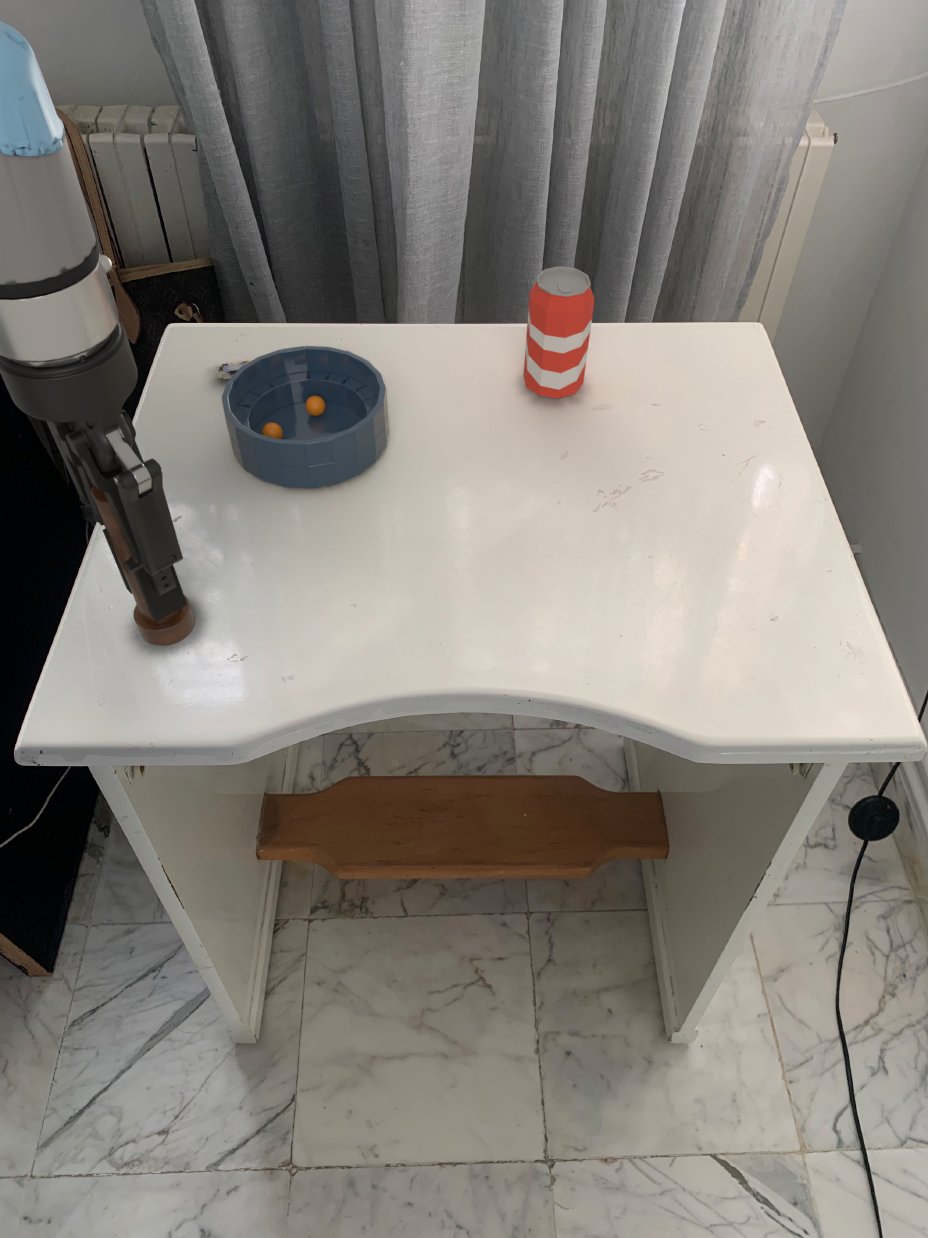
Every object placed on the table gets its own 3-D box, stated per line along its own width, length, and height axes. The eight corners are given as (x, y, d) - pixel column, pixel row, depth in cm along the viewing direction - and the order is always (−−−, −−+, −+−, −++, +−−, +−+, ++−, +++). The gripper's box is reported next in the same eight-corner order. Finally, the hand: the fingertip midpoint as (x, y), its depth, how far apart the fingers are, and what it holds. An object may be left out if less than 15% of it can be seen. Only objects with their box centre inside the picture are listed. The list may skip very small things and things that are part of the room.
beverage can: (528, 404, 93) (537, 299, 83) (520, 369, 97) (527, 264, 87) (586, 402, 93) (601, 296, 84) (575, 366, 97) (588, 261, 88)
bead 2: (305, 419, 89) (302, 403, 88) (308, 407, 91) (305, 391, 89) (324, 420, 89) (322, 404, 88) (327, 408, 91) (325, 391, 89)
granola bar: (279, 362, 97) (277, 354, 96) (281, 374, 95) (280, 366, 94) (216, 370, 96) (214, 361, 95) (217, 382, 94) (215, 374, 93)
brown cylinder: (133, 644, 72) (72, 507, 60) (148, 603, 74) (93, 464, 63) (187, 647, 72) (137, 510, 60) (200, 605, 74) (155, 467, 63)
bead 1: (261, 447, 86) (258, 430, 85) (265, 434, 88) (262, 417, 86) (282, 448, 86) (279, 431, 85) (285, 435, 88) (282, 418, 86)
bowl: (218, 491, 84) (205, 440, 79) (251, 393, 93) (241, 343, 89) (380, 497, 83) (375, 447, 79) (395, 398, 93) (393, 348, 88)
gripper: (185, 369, 50) (254, 632, 68) (53, 258, 58) (147, 520, 76) (60, 424, 47) (167, 685, 65) (-63, 298, 54) (64, 563, 72)
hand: (156, 596), depth 70 cm, fingers closed on brown cylinder, 3 cm apart
